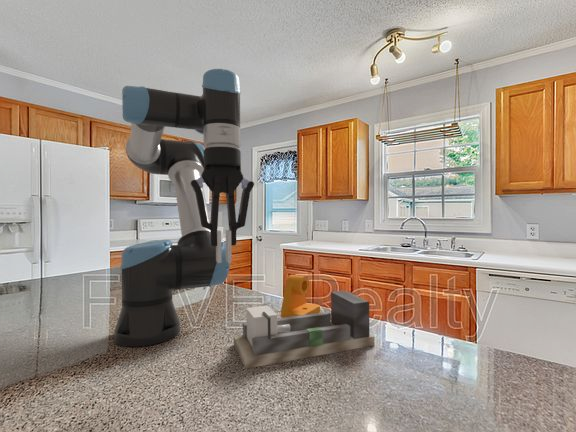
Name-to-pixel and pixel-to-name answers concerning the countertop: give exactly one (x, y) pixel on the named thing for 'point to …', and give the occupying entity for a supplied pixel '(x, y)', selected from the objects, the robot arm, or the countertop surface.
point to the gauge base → (311, 334)
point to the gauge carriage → (263, 323)
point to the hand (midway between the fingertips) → (223, 261)
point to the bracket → (297, 298)
